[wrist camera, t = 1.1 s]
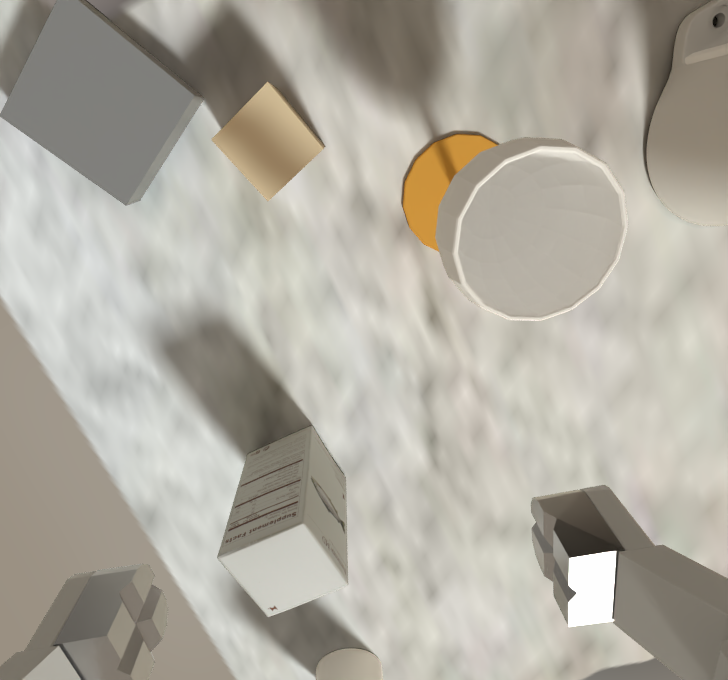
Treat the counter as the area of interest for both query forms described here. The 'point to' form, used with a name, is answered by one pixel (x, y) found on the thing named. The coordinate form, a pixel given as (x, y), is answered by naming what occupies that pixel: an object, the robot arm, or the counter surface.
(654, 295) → the counter surface
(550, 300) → the cup
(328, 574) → the supplement box
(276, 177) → the maple cube
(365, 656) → the cup
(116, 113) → the plate
